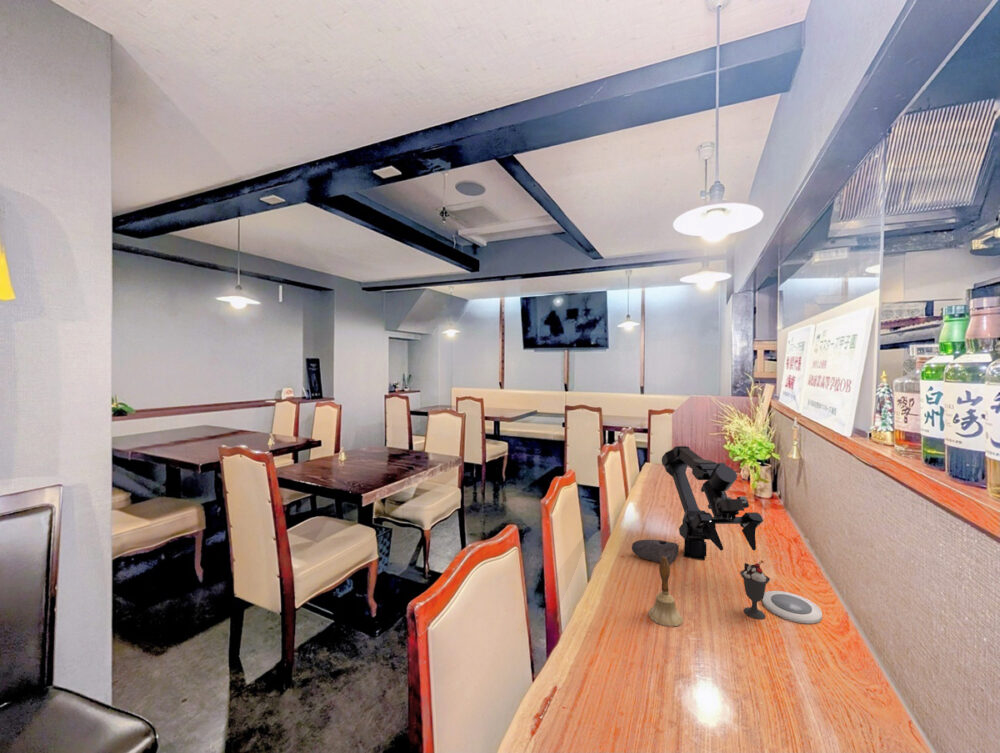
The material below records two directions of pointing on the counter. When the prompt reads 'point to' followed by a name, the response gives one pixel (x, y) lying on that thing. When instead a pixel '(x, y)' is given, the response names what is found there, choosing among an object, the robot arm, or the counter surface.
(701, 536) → the robot arm
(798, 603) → the serving plate
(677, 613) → the hand bell
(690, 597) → the counter surface
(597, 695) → the counter surface
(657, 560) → the perforated stone tool
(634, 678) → the counter surface
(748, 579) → the sundae
